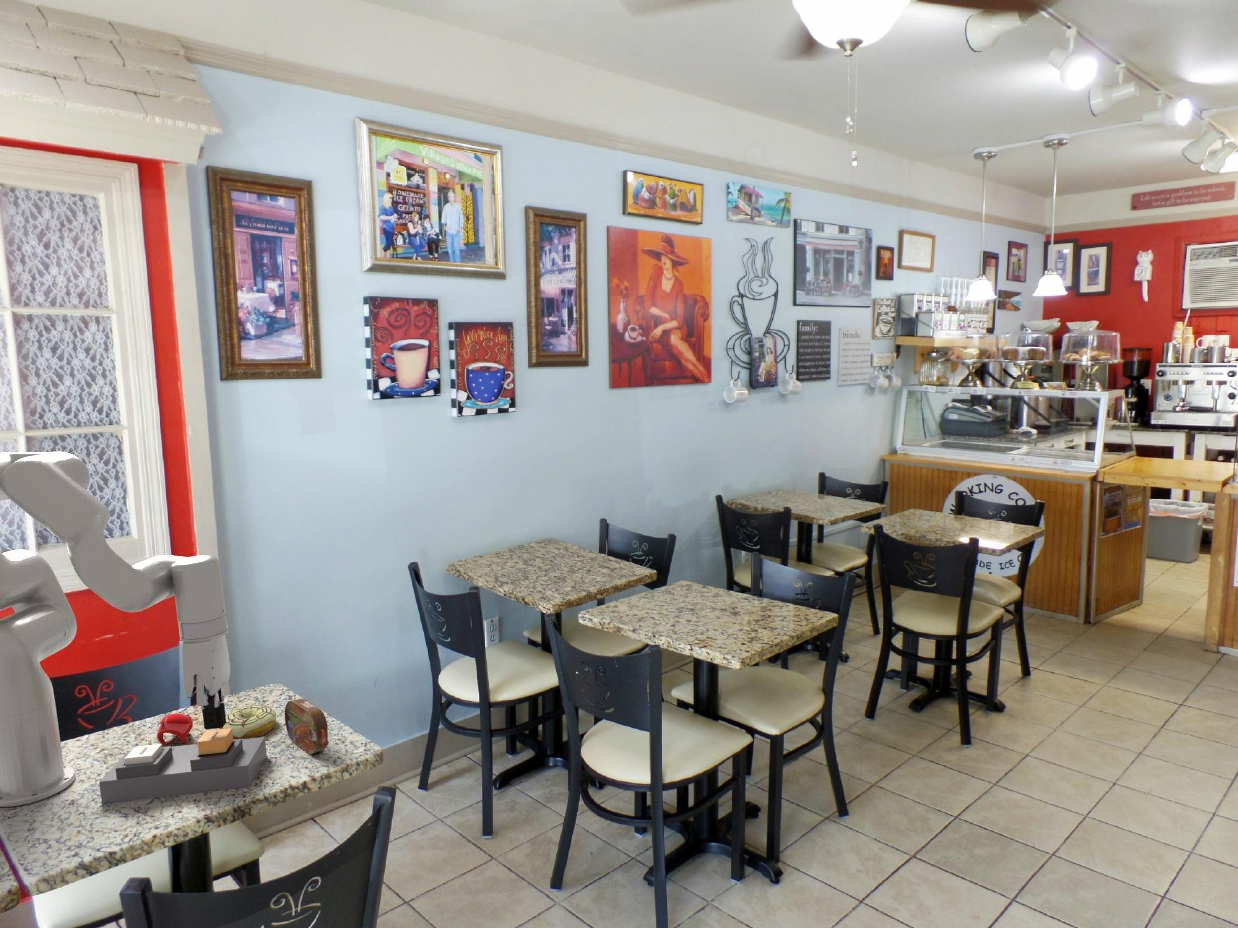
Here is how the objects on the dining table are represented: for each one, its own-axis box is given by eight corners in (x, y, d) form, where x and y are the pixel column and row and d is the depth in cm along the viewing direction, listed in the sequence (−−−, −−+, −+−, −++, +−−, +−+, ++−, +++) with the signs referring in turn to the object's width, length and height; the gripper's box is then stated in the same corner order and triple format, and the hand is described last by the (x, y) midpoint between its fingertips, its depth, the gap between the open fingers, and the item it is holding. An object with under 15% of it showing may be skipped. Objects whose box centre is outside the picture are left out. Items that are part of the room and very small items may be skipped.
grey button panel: (102, 803, 138) (97, 770, 137) (130, 771, 148) (126, 741, 148) (249, 786, 141) (246, 754, 140) (266, 756, 152) (263, 726, 151)
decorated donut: (238, 747, 157) (236, 729, 156) (209, 734, 163) (207, 716, 163) (287, 726, 165) (285, 708, 165) (257, 714, 171) (256, 697, 171)
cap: (187, 733, 156) (198, 706, 161) (154, 727, 155) (166, 701, 159) (185, 755, 161) (196, 728, 165) (153, 750, 159) (165, 723, 164)
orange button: (198, 754, 140) (197, 741, 140) (207, 743, 145) (206, 729, 144) (225, 751, 141) (224, 738, 141) (233, 740, 145) (232, 727, 145)
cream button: (126, 771, 139) (124, 757, 138) (136, 759, 143) (135, 745, 143) (153, 768, 139) (151, 754, 139) (163, 756, 144) (161, 743, 143)
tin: (284, 736, 161) (281, 696, 159) (300, 730, 163) (296, 691, 162) (316, 761, 150) (312, 718, 149) (333, 754, 152) (329, 712, 151)
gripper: (196, 616, 147) (207, 711, 149) (163, 643, 132) (176, 748, 135) (239, 612, 148) (250, 706, 150) (211, 639, 133) (224, 743, 136)
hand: (215, 726), depth 142 cm, fingers closed
